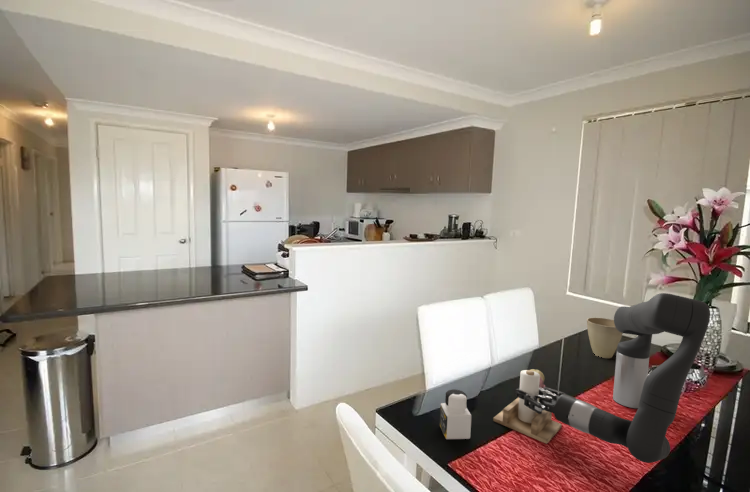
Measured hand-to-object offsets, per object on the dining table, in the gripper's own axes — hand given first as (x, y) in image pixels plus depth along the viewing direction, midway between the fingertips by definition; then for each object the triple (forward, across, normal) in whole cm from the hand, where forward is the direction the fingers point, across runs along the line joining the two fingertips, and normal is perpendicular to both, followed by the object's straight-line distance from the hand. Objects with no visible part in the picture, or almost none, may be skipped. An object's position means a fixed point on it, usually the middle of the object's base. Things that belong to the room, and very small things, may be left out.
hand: (521, 389), depth 116 cm
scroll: (+6, -18, +10) cm, 21 cm away
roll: (-3, 0, +8) cm, 8 cm away
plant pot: (+11, -83, +10) cm, 84 cm away
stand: (-2, 0, +10) cm, 10 cm away
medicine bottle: (+7, +22, +10) cm, 25 cm away
